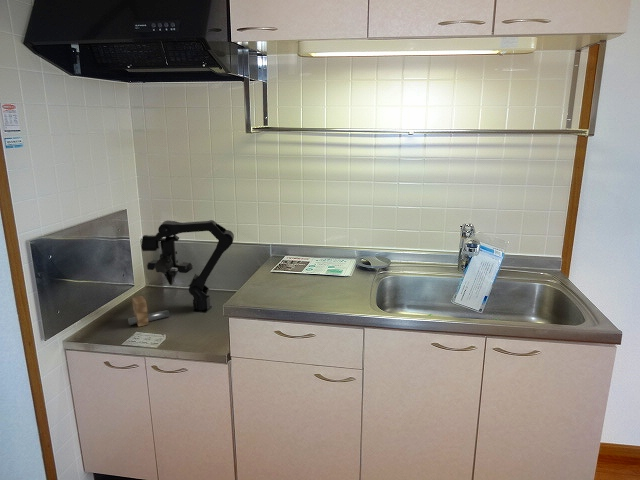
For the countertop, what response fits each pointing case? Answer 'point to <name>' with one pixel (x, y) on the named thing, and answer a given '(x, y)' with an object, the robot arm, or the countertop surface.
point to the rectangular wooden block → (140, 310)
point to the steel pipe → (150, 317)
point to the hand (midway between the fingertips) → (171, 284)
